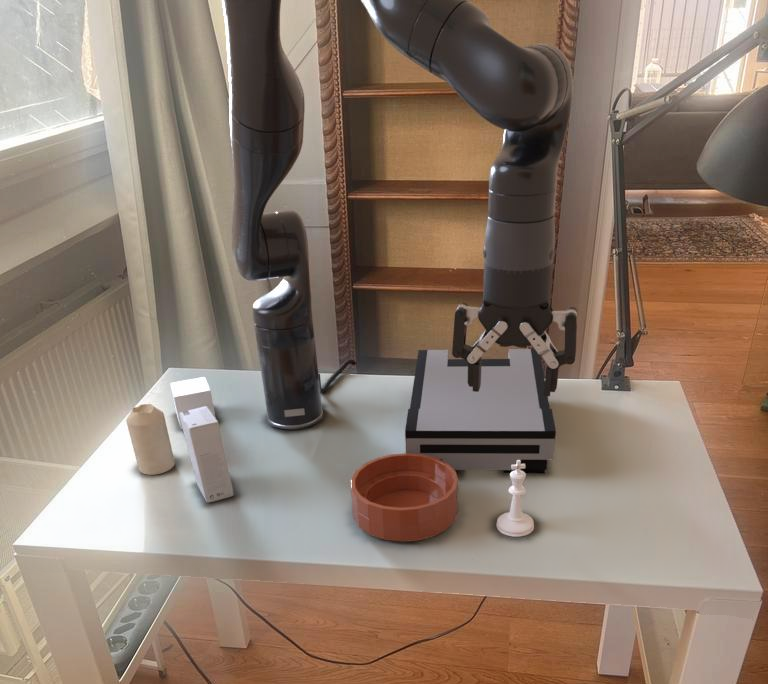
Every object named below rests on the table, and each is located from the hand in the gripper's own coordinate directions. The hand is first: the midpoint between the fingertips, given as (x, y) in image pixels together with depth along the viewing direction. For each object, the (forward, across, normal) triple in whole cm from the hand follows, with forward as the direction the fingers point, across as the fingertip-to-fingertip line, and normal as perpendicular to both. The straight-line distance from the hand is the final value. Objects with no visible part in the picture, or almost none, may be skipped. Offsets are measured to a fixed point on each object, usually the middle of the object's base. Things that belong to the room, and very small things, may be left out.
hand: (511, 391), depth 95 cm
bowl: (+19, +13, +2) cm, 23 cm away
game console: (+19, +7, -24) cm, 31 cm away
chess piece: (+19, -2, +2) cm, 19 cm away
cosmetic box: (+19, +42, +1) cm, 46 cm away
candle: (+19, +54, -4) cm, 58 cm away
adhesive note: (+20, +55, -20) cm, 62 cm away
